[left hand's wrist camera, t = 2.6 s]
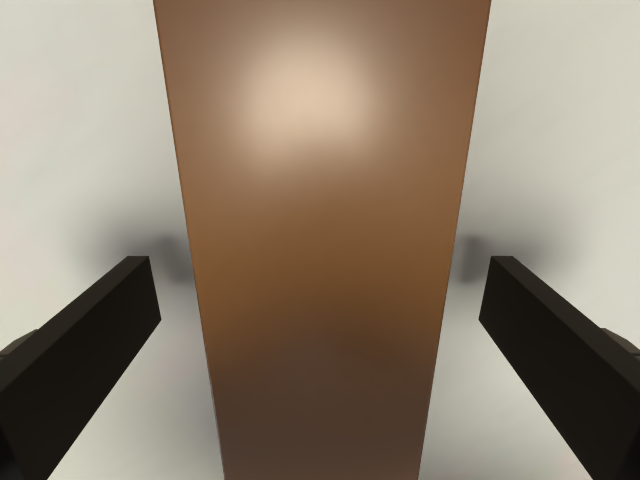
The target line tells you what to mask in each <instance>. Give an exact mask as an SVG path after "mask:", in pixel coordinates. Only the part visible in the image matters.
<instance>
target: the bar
mask: <svg viewBox="0 0 640 480" xmlns="http://www.w3.org/2000/svg"><path fill="white" fill-rule="evenodd" d="M153 4H154V11H155V18H156V24H157V31H158V38H159V44H160V51H161V58H162V64H163V71H164V78H165V84H166V91H167V98H168V104H169V111H170V118H171V124H172V131H173V138H174V144H175V151H176V158H177V164H178V171H179V178H180V185H181V191H182V198H183V205H184V211H185V218H186V225H187V231H188V238H189V245H190V251H191V258H192V265H193V271H194V278H195V285H196V291H197V298H198V305H199V311H200V318H201V325H202V331H203V338H204V345H205V351H206V358H207V365H208V371H209V378H210V385H211V391H212V398H213V405H214V411H215V418H216V425H217V431H218V438H219V445H220V452H221V458H222V465H223V472H224V478H225V480H418V475H419V468H420V462H421V455H422V449H423V442H424V436H425V429H426V423H427V416H428V410H429V403H430V397H431V390H432V384H433V377H434V371H435V364H436V358H437V351H438V345H439V338H440V332H441V325H442V319H443V312H444V306H445V299H446V293H447V286H448V280H449V273H450V267H451V260H452V254H453V247H454V241H455V234H456V228H457V221H458V215H459V208H460V202H461V195H462V189H463V182H464V176H465V169H466V162H467V156H468V149H469V143H470V136H471V130H472V123H473V117H474V110H475V104H476V97H477V91H478V84H479V78H480V71H481V65H482V58H483V52H484V45H485V39H486V32H487V26H488V19H489V13H490V6H491V0H153Z"/></svg>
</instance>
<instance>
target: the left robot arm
mask: <svg viewBox="0 0 640 480" xmlns="http://www.w3.org/2000/svg"><path fill="white" fill-rule="evenodd" d="M160 321H161V315H160V310H159V305H158V300H157V295H156V290H155V285H154V280H153V275H152V270H151V265H150V260H149V256H127V257H126V258H125V259H123V260H122V261H121V262H120V263H119V264H117V265H116V266H115V267H114V268H113V269H111V270H110V271H109V272H108V273H106V274H105V275H104V276H103V277H102V278H100V279H99V280H98V281H97V282H95V283H94V284H93V285H92V286H91V287H89V288H88V289H87V290H86V291H84V292H83V293H82V294H81V295H80V296H78V297H77V298H76V299H75V300H73V301H72V302H71V303H70V304H69V305H67V306H66V307H65V308H64V309H63V310H61V311H60V312H59V313H58V314H56V315H55V316H54V317H53V318H52V319H50V320H49V321H48V322H47V323H45V324H44V325H43V326H42V327H41V328H39V329H35V330H33V331H32V332H30V333H28V334H26V335H24V336H22V337H20V338H18V339H16V340H15V341H13V342H12V343H10V344H9V345H8V346H7V347H5V348H4V349H3V350H2V351H0V480H47V479H48V478H49V476H50V475H51V473H52V472H53V471H54V469H55V468H56V466H57V465H58V464H59V462H60V461H61V459H62V458H63V457H64V455H65V454H66V452H67V451H68V450H69V448H70V447H71V445H72V444H73V443H74V441H75V440H76V438H77V437H78V436H79V434H80V433H81V432H82V430H83V429H84V427H85V426H86V425H87V423H88V422H89V420H90V419H91V418H92V416H93V415H94V413H95V412H96V411H97V409H98V408H99V406H100V405H101V404H102V402H103V401H104V399H105V398H106V397H107V395H108V394H109V392H110V391H111V390H112V388H113V387H114V385H115V384H116V383H117V381H118V380H119V378H120V377H121V376H122V374H123V373H124V371H125V370H126V369H127V367H128V366H129V364H130V363H131V362H132V360H133V359H134V357H135V356H136V355H137V353H138V352H139V350H140V349H141V348H142V346H143V345H144V344H145V342H146V341H147V339H148V338H149V337H150V335H151V334H152V332H153V331H154V330H155V328H156V327H157V325H158V324H159V323H160ZM479 321H480V323H481V324H482V325H483V327H484V328H485V330H486V331H487V332H488V334H489V335H490V337H491V338H492V339H493V341H494V342H495V344H496V345H497V346H498V348H499V349H500V351H501V352H502V353H503V355H504V356H505V357H506V359H507V360H508V362H509V363H510V364H511V366H512V367H513V369H514V370H515V371H516V373H517V374H518V376H519V377H520V378H521V380H522V381H523V383H524V384H525V385H526V387H527V388H528V390H529V391H530V392H531V394H532V395H533V397H534V398H535V399H536V401H537V402H538V404H539V405H540V406H541V408H542V409H543V411H544V412H545V413H546V415H547V416H548V418H549V419H550V420H551V422H552V423H553V425H554V426H555V427H556V429H557V430H558V432H559V433H560V434H561V436H562V437H563V439H564V440H565V441H566V443H567V444H568V446H569V447H570V448H571V450H572V451H573V452H574V454H575V455H576V457H577V458H578V459H579V461H580V462H581V464H582V465H583V466H584V468H585V469H586V471H587V472H588V473H589V475H590V476H591V478H592V479H593V480H640V350H639V349H638V348H637V347H636V346H634V345H633V344H632V343H630V342H629V341H628V340H626V339H624V338H623V337H621V336H619V335H617V334H615V333H613V332H611V331H609V330H607V329H606V328H599V327H598V326H597V325H596V324H595V323H593V322H592V321H591V320H590V319H588V318H587V317H586V316H585V315H584V314H582V313H581V312H580V311H579V310H577V309H576V308H575V307H574V306H573V305H571V304H570V303H569V302H568V301H566V300H565V299H564V298H563V297H562V296H560V295H559V294H558V293H557V292H556V291H554V290H553V289H552V288H551V287H549V286H548V285H547V284H546V283H545V282H543V281H542V280H541V279H540V278H538V277H537V276H536V275H535V274H534V273H532V272H531V271H530V270H529V269H527V268H526V267H525V266H524V265H523V264H521V263H520V262H519V261H518V260H517V259H515V258H514V257H513V256H491V260H490V265H489V270H488V275H487V280H486V285H485V290H484V295H483V300H482V305H481V310H480V315H479Z"/></svg>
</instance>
